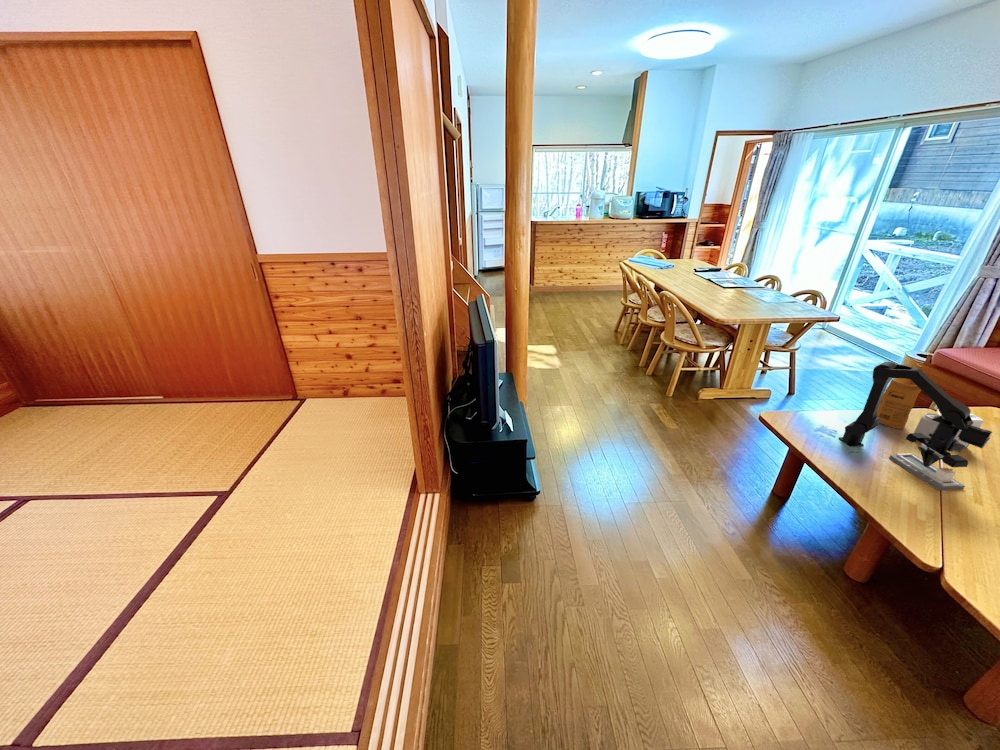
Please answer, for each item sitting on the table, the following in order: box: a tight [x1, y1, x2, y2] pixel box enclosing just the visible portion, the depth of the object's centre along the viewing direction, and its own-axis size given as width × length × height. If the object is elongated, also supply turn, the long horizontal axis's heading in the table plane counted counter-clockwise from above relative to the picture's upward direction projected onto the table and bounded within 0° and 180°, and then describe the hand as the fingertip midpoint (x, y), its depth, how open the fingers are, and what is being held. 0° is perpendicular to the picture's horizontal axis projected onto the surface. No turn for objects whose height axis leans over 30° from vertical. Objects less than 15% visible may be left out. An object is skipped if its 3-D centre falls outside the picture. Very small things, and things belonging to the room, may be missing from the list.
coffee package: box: [876, 378, 922, 430], centre depth 188 cm, size 10×12×22 cm
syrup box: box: [955, 413, 985, 448], centre depth 173 cm, size 6×6×14 cm
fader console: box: [888, 452, 966, 491], centre depth 159 cm, size 10×20×2 cm, turn 2°
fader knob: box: [934, 467, 956, 482], centre depth 153 cm, size 4×3×5 cm
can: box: [913, 412, 941, 438], centre depth 178 cm, size 8×8×12 cm
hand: (925, 466), depth 159 cm, fingers closed
